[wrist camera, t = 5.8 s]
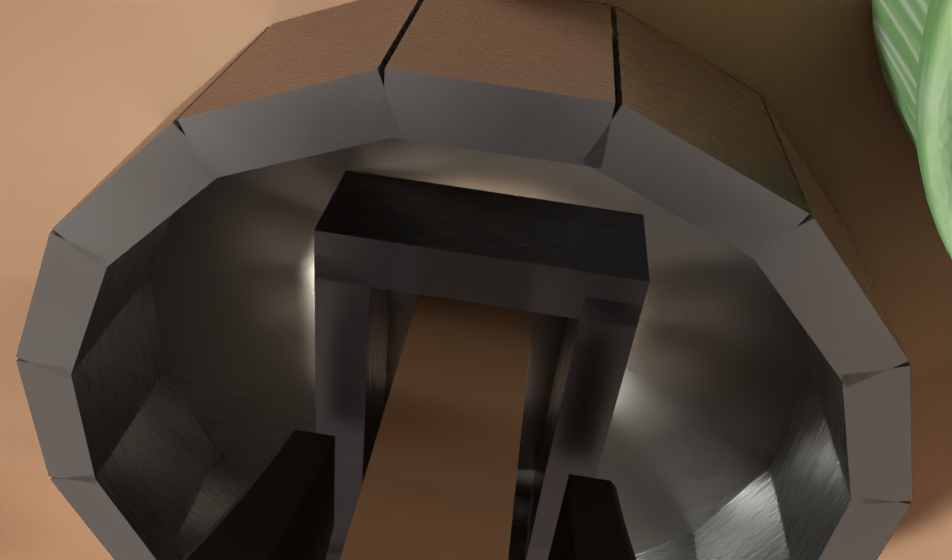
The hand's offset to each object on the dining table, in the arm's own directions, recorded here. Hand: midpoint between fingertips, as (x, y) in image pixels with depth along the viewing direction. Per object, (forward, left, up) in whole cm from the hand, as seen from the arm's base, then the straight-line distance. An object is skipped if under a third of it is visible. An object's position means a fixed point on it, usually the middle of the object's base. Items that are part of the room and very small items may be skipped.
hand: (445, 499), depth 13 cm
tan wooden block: (0, 0, -3) cm, 3 cm away
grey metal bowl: (0, 0, -4) cm, 4 cm away
